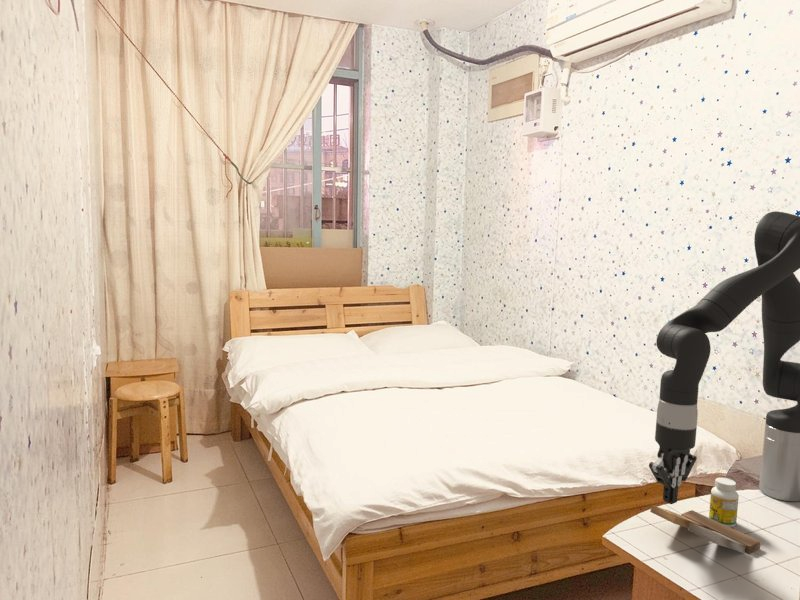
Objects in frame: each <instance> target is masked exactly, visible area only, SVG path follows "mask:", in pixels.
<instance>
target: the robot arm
mask: <svg viewBox="0 0 800 600" xmlns="http://www.w3.org/2000/svg"><path fill="white" fill-rule="evenodd" d="M753 238H754V242H753V243H754V244H753V245H754V251H755V257H756V262H757V266H756V267H754V268H751V269H748V270H745V271H743V272H740V273H738V274H735V275H733V276H730V277H728V278H726V279H724V280H721V282H719V283H717V284H716V285H715V286H714V287H713V288H712V289H711V290H710V291H708V293H706V294H705V296H703V298H701V299H700V300H699V301H698V302H697V303H696V304H695V305H694V306H692V307H691V308H689V309H687V310H684V312H681V313H680V314H678V315H677V316H675V317H673V318H672V319H670V320H669V321H668V322H666V323H665V324H664V325H663V327H662V328H661V329H660V330H659V332H658V334H657V336H656V341H655V342H656V347H657V350H658V351H659V352H660V353H661V354H662V355H664V356H666V357H667V358H668V357H669V358H670V359H674V360H675V365H674V367H673V369H672V370H669V369H668V370H666V371H664V372H662V374H661V378H660V387H659V398H658V404H657V409H656V410H657V411H656V419H655V420H656V422H655V432H654V440H655V442H656V443H657V444H658V446H659V448H658V451H657V455H656V456H657V459H656V461H655V462H653V461H649V463H648V468H649V469H650V471H651V473H652V475H653V477H654V479H655V481H656V482H657V483H659V484H661V485H663V494H662V499H663V501H664V502H665V503H668V504H669V505H674V504H677V502H678V493H679V487H680V486H681V485H682V482H686V481H687V478H688V477H689V475H690V473H691V471H692V469H693V467H694V465H695V463H696V461H697V460H698V459H697V456H696V455H693V454H692V453H691V450H692V449H694V448H695V447H696V438H697V428H698V427H697V426H698V415H699V414H698V401H699V385H700V382H701V380H702V377H703V375H704V373H705V370H706V367H707V364H708V361H709V359H710V356H711V342H710V339H709V337H708V335H707V334H708V333H718V332H721V331H723V330H724V329H726V328H727V327H728V326H729V325H730V324H731V323H732V322H734V321H735V319H736V318H737V317H738V316H739V315H741V314H742V312H743V311H744V310H746V308H747V307H749V306H750V305H751V304H752V303H753V302H754V301H756V300H757V299H758V298H759V297H761V322H762V323H761V325H762V334H763V335H762V336H763V365H762V367H763V368H762V387H763V391H764V393H765V394H766V395H767V396H769V397H772V398H776V399H780V400H781V399H782V400H788V401H793V402H796V405H794V406H791V407H788V408H783V409H782V408H781V409H780V408H779V409H774V410H773V409H772V410H770V411H768V412H767V413H766V416H765V425H764V434H763V436H764V437H763V445H762V446H763V447H762V455H761V457H762V458H761V465H760V476H759V484H758V485H759V486H758V490H759V491H760V492H761V493H762V494H764V495H766V496H768V497H770V498H773V499H777V500H779V501H785V502H800V363H799V362H795V361H788V360H787V361H784V360H781V359H782V358H783V357H784V355H785V354H786V353H787V352H788V351H789V350H790V349H792V348H793V347H794V346H795V345H797V344H798V343H799V342H800V280H799V279H798V277H797V276H796V275H795V273H796V272H797V271H799V270H800V215H796V214H791V213H788V212H783V211H769V212H767V213H766V214H764V215H763V216H762V217H761V219H760V220H759V221H758V223H757V225H756V228H755V232H754V237H753Z"/></svg>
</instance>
